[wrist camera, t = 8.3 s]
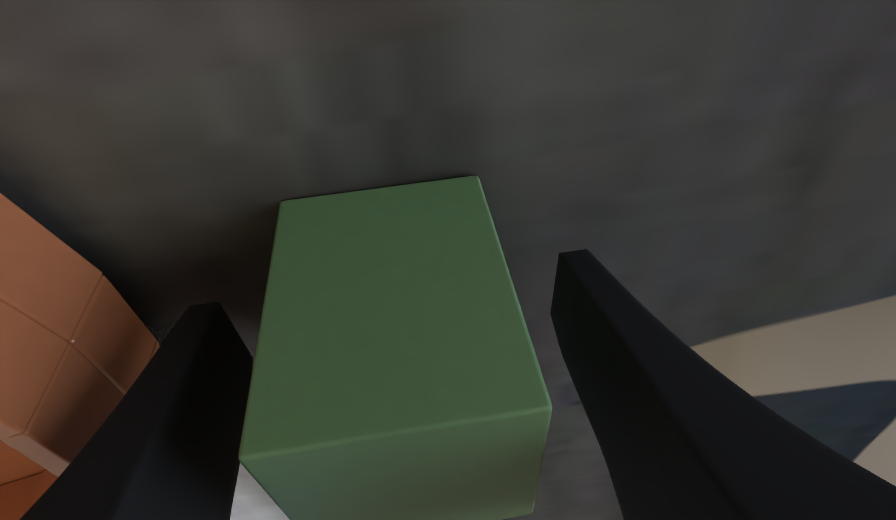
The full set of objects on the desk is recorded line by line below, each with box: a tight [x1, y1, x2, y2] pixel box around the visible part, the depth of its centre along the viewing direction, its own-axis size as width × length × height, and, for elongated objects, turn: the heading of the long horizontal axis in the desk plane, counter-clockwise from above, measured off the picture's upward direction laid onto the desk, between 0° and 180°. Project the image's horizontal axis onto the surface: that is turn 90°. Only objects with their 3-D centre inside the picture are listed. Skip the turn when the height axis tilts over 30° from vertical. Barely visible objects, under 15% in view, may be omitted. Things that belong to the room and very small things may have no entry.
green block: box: [238, 175, 552, 520], centre depth 10 cm, size 4×4×6 cm
